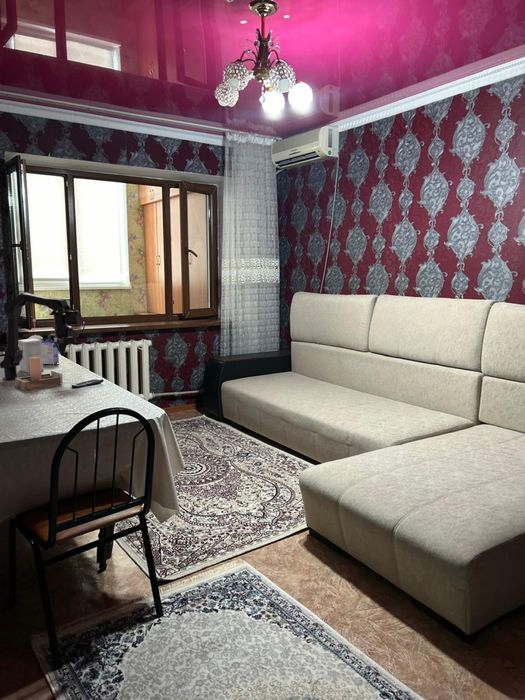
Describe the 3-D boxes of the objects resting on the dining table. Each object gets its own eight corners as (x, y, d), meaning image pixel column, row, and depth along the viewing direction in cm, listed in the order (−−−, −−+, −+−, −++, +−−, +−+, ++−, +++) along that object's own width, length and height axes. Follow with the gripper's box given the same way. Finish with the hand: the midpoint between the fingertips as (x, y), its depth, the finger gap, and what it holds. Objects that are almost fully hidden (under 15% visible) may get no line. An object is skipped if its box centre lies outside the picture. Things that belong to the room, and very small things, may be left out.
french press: (24, 361, 323) (21, 319, 319) (38, 358, 333) (36, 317, 329) (37, 362, 319) (34, 320, 315) (51, 359, 330) (49, 318, 326)
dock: (15, 386, 261) (14, 378, 260) (49, 381, 272) (49, 373, 272) (25, 390, 252) (25, 382, 252) (60, 385, 264) (60, 377, 263)
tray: (23, 384, 262) (22, 374, 261) (54, 380, 273) (53, 370, 272) (31, 388, 255) (30, 377, 254) (62, 383, 266) (62, 373, 265)
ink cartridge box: (59, 363, 317) (58, 339, 314) (54, 365, 311) (52, 340, 309) (44, 363, 319) (42, 338, 316) (38, 364, 313) (37, 339, 311)
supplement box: (36, 367, 305) (34, 338, 302) (44, 370, 299) (42, 339, 296) (19, 370, 298) (17, 339, 295) (26, 372, 292) (24, 341, 289)
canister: (31, 382, 263) (30, 356, 261) (42, 381, 264) (40, 356, 262) (30, 384, 259) (28, 358, 256) (41, 384, 260) (39, 358, 258)
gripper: (84, 324, 266) (86, 356, 269) (68, 321, 279) (69, 351, 282) (62, 326, 259) (64, 359, 261) (46, 323, 272) (48, 354, 274)
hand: (62, 355), depth 270 cm, fingers closed
